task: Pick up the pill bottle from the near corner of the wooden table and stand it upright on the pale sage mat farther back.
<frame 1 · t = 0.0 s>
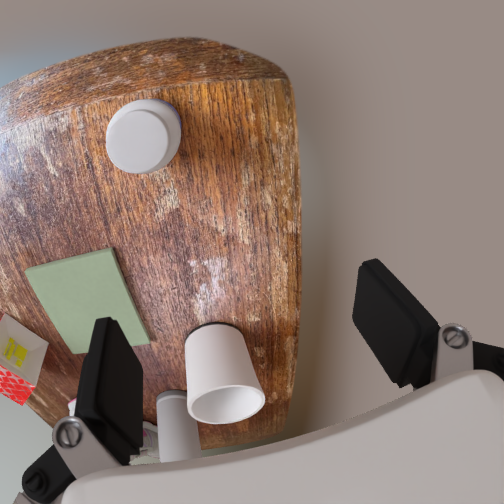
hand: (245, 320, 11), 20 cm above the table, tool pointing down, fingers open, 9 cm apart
mat: (88, 306, 32), on the table
red patterned cube box: (19, 340, 32), on the table
pill bottle: (152, 126, 25), on the table
travel mug: (175, 397, 45), on the table
running shoe: (120, 421, 46), on the table
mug: (215, 346, 40), on the table
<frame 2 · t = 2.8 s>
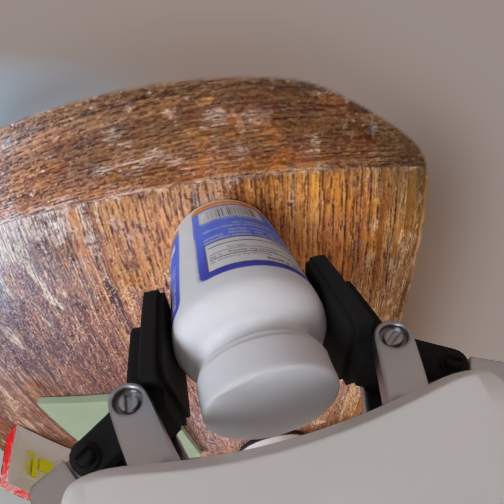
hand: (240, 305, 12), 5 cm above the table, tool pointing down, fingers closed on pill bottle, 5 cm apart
mat: (125, 431, 23), on the table
red patterned cube box: (38, 443, 24), on the table
pill bottle: (222, 243, 16), on the table, touching gripper
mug: (271, 446, 31), on the table
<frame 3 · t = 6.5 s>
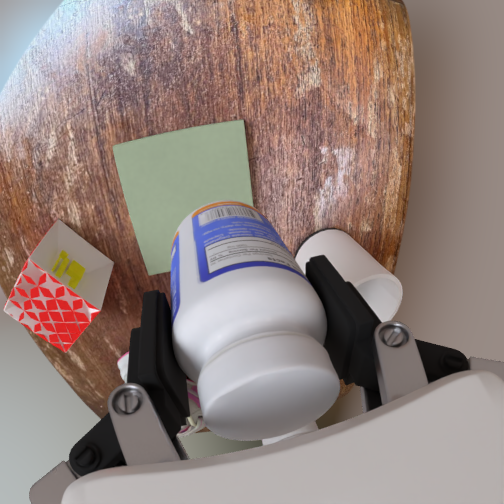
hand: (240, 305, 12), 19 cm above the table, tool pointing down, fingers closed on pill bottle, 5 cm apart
mat: (189, 200, 29), on the table
red patterned cube box: (69, 263, 29), on the table
pill bottle: (222, 243, 16), point 14 cm above the table, touching gripper
travel mug: (259, 341, 41), on the table
running shoe: (180, 383, 42), on the table
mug: (322, 263, 36), on the table
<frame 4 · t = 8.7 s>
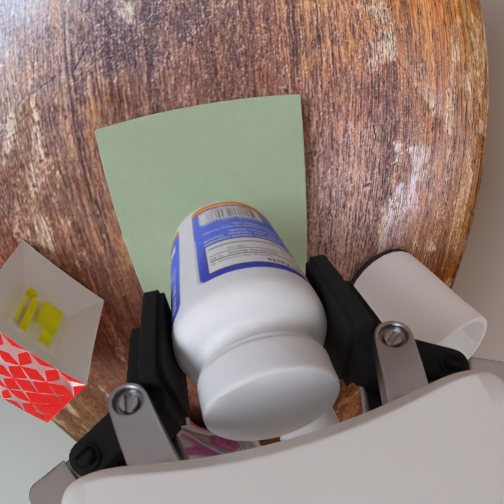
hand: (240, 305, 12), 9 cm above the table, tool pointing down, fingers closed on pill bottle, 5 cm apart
mat: (214, 213, 19), on the table
red patterned cube box: (44, 299, 20), on the table
pill bottle: (222, 244, 16), point 4 cm above the table, touching gripper
travel mug: (293, 384, 32), on the table
running shoe: (194, 429, 33), on the table
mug: (379, 292, 27), on the table
when the fingers open (6 cm above the table, at t = 10.0 s): pill bottle stays where it is, resting on mat.
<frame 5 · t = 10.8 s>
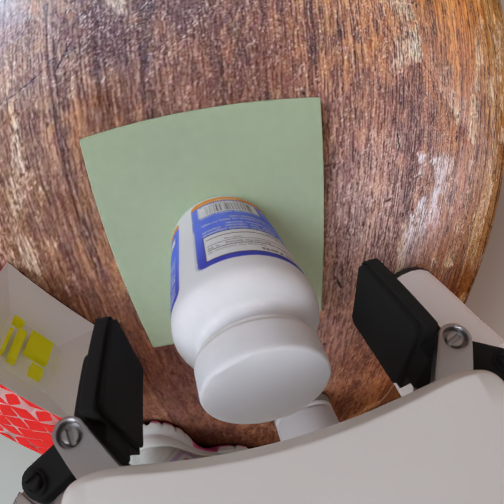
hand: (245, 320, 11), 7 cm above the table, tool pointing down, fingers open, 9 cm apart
mat: (219, 234, 17), on the table
red patterned cube box: (33, 324, 17), on the table
pill bottle: (221, 238, 16), point 1 cm above the table, touching mat
travel mug: (300, 405, 29), on the table
running shoe: (197, 449, 31), on the table
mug: (394, 311, 25), on the table
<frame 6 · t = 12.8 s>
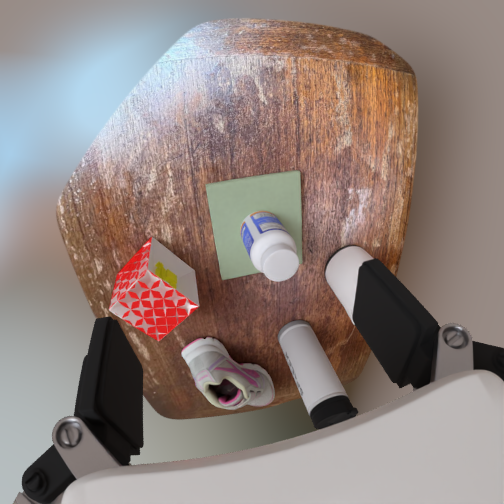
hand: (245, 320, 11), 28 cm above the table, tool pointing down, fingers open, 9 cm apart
mat: (257, 225, 41), on the table
red patterned cube box: (155, 271, 41), on the table
pill bottle: (259, 227, 40), point 1 cm above the table, touching mat
travel mug: (294, 330, 53), on the table
running shoe: (228, 367, 54), on the table
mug: (344, 270, 48), on the table
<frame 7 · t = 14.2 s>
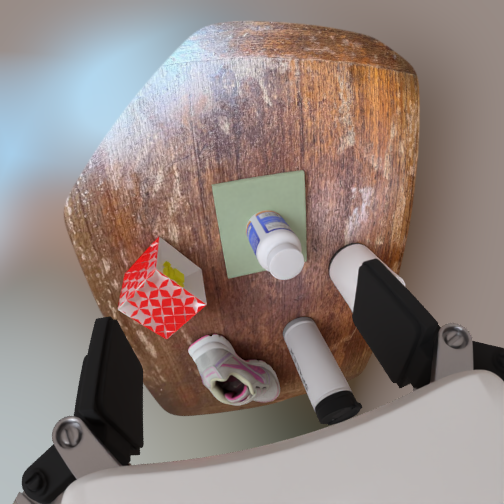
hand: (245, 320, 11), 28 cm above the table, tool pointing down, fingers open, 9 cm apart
mat: (263, 225, 41), on the table
red patterned cube box: (162, 270, 42), on the table
pill bottle: (264, 226, 41), point 1 cm above the table, touching mat
travel mug: (299, 327, 54), on the table
running shoe: (234, 364, 55), on the table
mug: (348, 268, 49), on the table
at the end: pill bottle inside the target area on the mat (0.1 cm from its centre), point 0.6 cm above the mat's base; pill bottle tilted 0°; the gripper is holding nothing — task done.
